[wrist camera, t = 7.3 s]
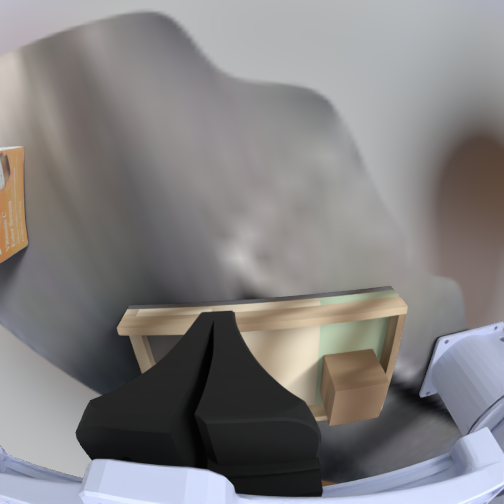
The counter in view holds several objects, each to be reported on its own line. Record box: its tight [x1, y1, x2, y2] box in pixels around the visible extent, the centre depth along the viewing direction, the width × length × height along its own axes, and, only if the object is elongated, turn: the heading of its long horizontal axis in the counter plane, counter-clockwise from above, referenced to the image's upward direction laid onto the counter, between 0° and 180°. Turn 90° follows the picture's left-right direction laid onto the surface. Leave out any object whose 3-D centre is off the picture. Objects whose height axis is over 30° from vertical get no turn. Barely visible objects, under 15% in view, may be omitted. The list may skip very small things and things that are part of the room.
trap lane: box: [117, 286, 408, 421], centre depth 23 cm, size 20×11×3 cm, turn 94°
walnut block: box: [320, 349, 390, 426], centre depth 22 cm, size 4×4×4 cm
